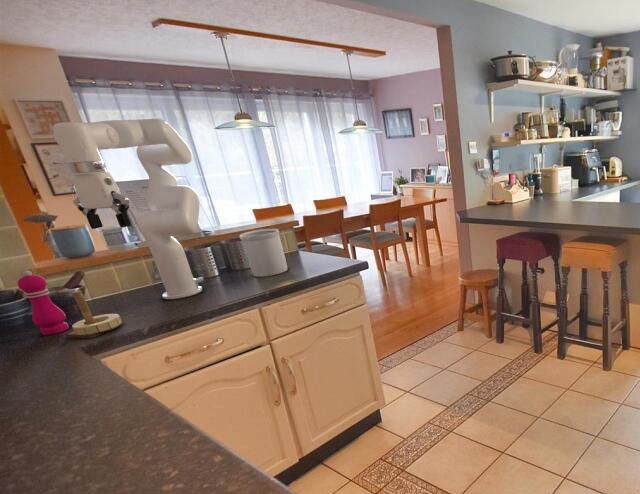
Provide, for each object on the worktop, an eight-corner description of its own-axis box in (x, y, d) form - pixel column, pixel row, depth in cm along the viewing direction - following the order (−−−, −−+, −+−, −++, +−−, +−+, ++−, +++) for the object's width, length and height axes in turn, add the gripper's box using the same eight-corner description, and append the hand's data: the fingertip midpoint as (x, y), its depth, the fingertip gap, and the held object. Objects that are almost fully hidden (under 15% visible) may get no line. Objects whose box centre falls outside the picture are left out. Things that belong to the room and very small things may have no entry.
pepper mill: (51, 336, 134) (20, 274, 127) (33, 335, 136) (1, 274, 128) (77, 326, 141) (49, 267, 133) (60, 326, 142) (31, 267, 135)
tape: (99, 321, 141) (96, 314, 140) (130, 320, 140) (127, 313, 139) (65, 335, 131) (62, 328, 130) (98, 334, 130) (95, 327, 129)
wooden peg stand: (96, 325, 140) (78, 287, 135) (121, 325, 139) (104, 286, 134) (67, 338, 132) (47, 297, 127) (93, 337, 131) (74, 296, 126)
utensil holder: (262, 279, 179) (250, 237, 173) (244, 275, 187) (232, 234, 181) (295, 269, 191) (285, 229, 184) (277, 266, 198) (266, 227, 192)
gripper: (126, 166, 129) (148, 223, 135) (74, 169, 131) (98, 226, 137) (102, 168, 122) (126, 228, 128) (47, 171, 124) (74, 231, 130)
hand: (111, 227), depth 133 cm, fingers open, 9 cm apart
